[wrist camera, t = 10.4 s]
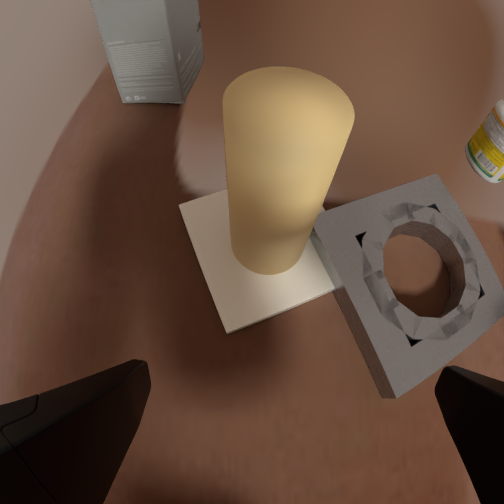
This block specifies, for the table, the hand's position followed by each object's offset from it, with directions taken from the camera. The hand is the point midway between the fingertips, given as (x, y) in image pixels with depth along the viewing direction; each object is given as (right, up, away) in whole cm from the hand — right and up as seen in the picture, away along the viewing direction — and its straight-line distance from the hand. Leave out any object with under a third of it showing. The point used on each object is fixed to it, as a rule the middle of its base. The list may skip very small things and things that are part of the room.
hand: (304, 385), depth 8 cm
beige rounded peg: (0, +4, +12) cm, 13 cm away
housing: (+10, +2, +12) cm, 16 cm away
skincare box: (-10, +21, +19) cm, 30 cm away
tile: (0, +4, +12) cm, 13 cm away
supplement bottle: (+22, +13, +17) cm, 31 cm away
